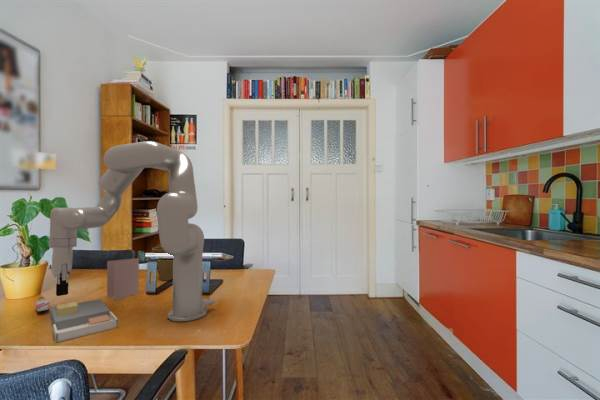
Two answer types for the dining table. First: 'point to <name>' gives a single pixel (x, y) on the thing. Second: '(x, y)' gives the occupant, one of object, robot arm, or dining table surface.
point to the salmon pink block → (98, 319)
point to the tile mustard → (67, 309)
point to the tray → (83, 329)
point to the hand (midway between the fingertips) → (62, 294)
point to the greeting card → (122, 278)
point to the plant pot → (164, 266)
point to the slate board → (80, 314)
